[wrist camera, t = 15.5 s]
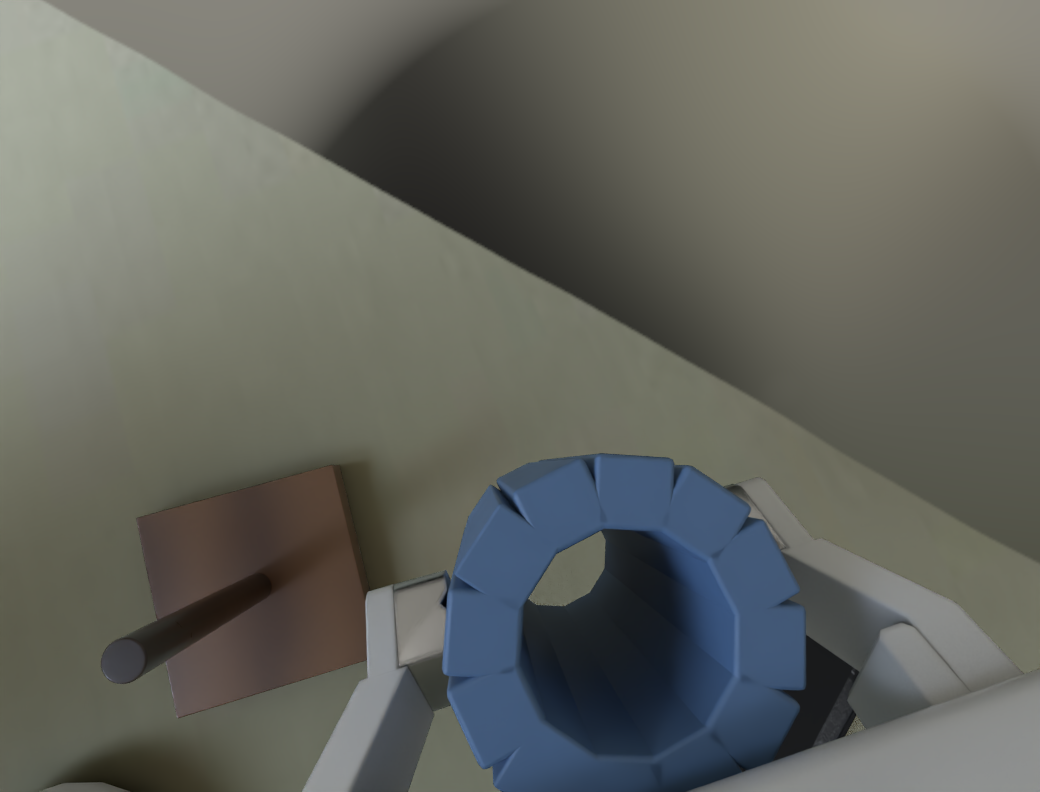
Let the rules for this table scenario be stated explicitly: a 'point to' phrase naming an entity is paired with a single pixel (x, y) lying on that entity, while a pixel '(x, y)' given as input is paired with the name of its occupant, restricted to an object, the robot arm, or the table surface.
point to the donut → (84, 788)
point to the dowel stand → (249, 592)
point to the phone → (820, 702)
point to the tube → (622, 631)
